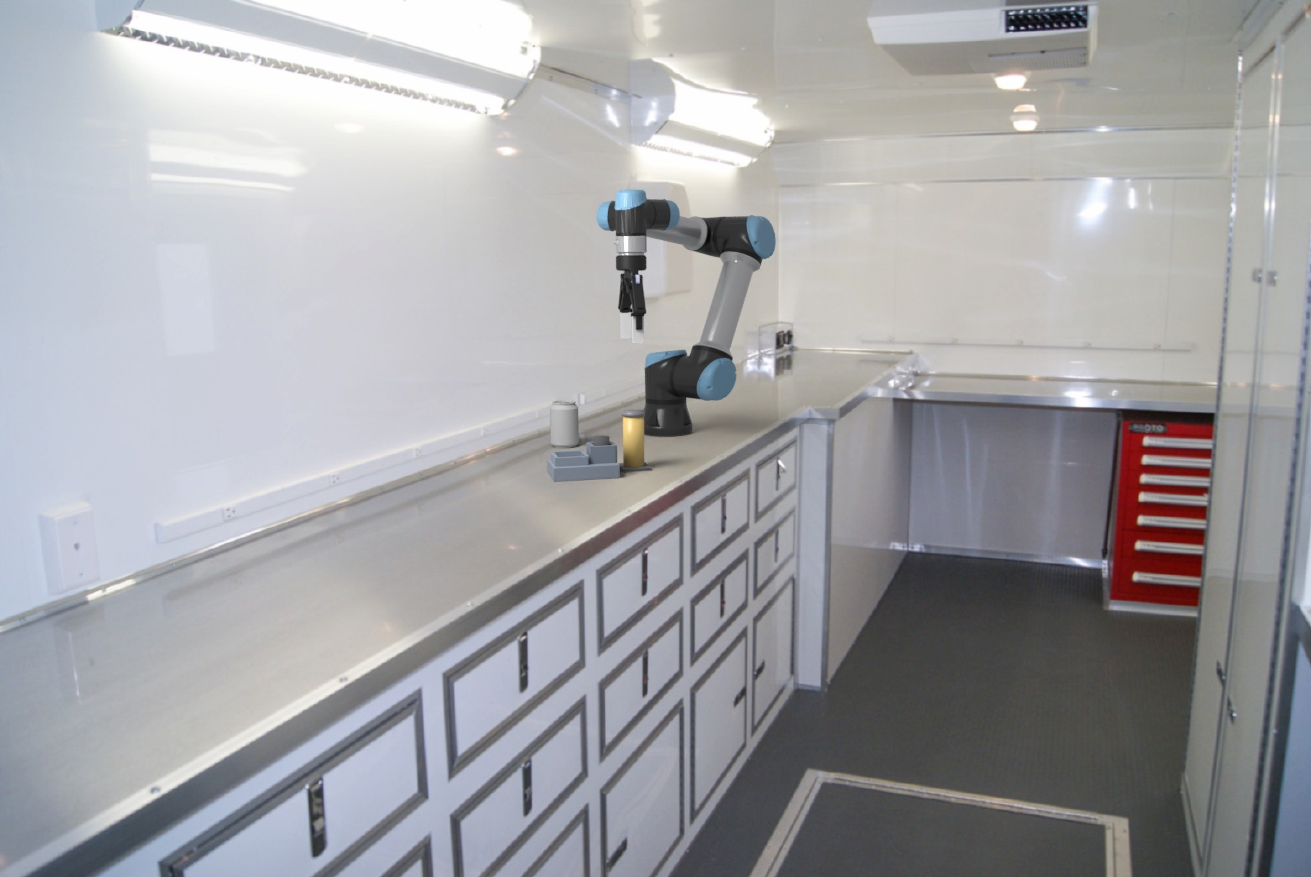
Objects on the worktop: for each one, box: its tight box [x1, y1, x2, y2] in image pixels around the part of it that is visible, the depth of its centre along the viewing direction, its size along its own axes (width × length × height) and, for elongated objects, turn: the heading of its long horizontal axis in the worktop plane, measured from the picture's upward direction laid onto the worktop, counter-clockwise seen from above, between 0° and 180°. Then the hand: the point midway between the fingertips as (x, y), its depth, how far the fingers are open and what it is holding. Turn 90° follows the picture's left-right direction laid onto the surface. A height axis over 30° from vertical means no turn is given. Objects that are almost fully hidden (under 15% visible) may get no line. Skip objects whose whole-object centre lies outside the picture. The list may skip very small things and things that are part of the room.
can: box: [549, 399, 580, 449], centre depth 273 cm, size 8×8×12 cm
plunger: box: [593, 435, 610, 446], centre depth 239 cm, size 4×4×5 cm
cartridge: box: [621, 409, 645, 468], centre depth 245 cm, size 5×5×13 cm
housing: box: [546, 440, 621, 483], centre depth 238 cm, size 15×11×7 cm
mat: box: [617, 461, 653, 473], centre depth 246 cm, size 7×7×1 cm
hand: (631, 341), depth 258 cm, fingers open, 13 cm apart
